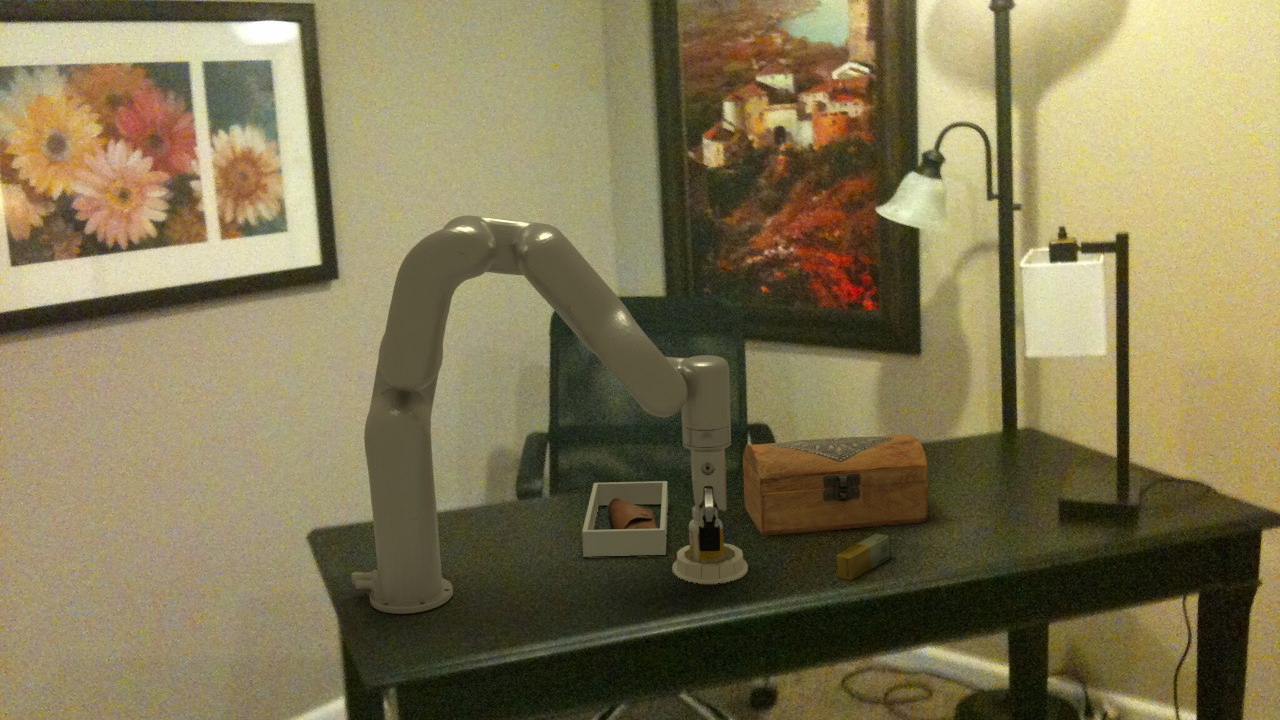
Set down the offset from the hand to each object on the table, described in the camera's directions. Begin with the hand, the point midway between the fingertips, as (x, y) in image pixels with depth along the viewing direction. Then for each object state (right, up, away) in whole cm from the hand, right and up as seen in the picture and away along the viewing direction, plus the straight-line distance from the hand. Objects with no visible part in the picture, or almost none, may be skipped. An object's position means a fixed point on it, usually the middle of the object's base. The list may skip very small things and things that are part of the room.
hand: (709, 539), depth 190 cm
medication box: (+25, -5, 0) cm, 25 cm away
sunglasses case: (-12, -2, +20) cm, 24 cm away
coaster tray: (0, -5, +1) cm, 5 cm away
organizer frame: (-13, -1, +20) cm, 24 cm away
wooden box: (+24, 0, +23) cm, 33 cm away
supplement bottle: (0, -5, +1) cm, 5 cm away
